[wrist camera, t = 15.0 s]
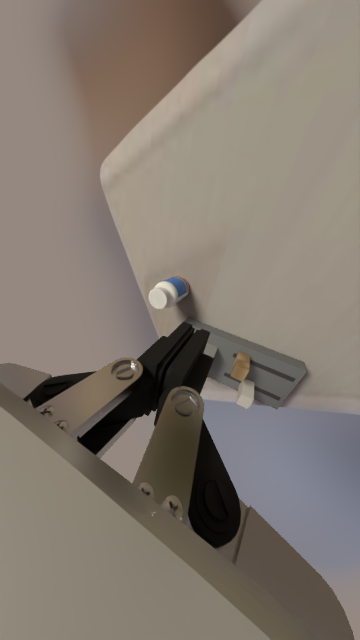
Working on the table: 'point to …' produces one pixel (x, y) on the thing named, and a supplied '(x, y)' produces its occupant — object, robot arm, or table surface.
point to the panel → (252, 365)
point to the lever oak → (240, 366)
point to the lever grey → (245, 393)
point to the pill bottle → (169, 292)
